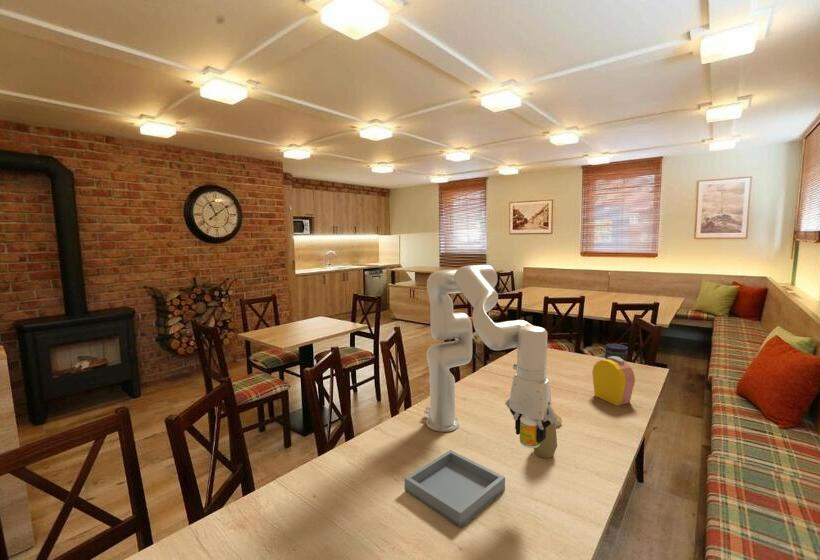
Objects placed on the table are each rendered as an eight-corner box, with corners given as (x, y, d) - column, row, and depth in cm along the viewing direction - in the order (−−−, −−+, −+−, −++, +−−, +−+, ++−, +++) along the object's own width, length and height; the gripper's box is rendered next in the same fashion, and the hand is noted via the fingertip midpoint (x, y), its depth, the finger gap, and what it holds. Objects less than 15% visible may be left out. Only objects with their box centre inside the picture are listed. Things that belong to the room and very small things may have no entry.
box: (404, 491, 110) (404, 477, 110) (450, 461, 124) (450, 449, 124) (460, 528, 96) (460, 513, 96) (504, 490, 110) (505, 477, 109)
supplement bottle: (515, 443, 106) (516, 409, 105) (525, 435, 110) (526, 403, 109) (534, 451, 102) (535, 416, 101) (543, 443, 106) (544, 409, 105)
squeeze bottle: (540, 462, 123) (541, 408, 121) (526, 449, 131) (527, 397, 128) (562, 458, 125) (564, 404, 123) (547, 445, 133) (548, 394, 131)
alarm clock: (634, 403, 163) (637, 361, 161) (620, 407, 160) (622, 364, 158) (605, 390, 177) (606, 351, 175) (591, 393, 174) (593, 354, 172)
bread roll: (551, 415, 154) (551, 405, 154) (565, 426, 146) (565, 416, 145) (532, 418, 153) (533, 408, 152) (545, 429, 144) (545, 418, 144)
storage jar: (599, 372, 200) (601, 344, 198) (615, 370, 202) (616, 342, 201) (615, 379, 190) (616, 349, 188) (631, 377, 193) (632, 347, 191)
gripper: (496, 368, 107) (495, 430, 109) (556, 385, 95) (553, 455, 97) (510, 362, 112) (509, 421, 114) (569, 377, 100) (567, 443, 102)
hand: (530, 436), depth 106 cm, fingers closed on supplement bottle, 5 cm apart
